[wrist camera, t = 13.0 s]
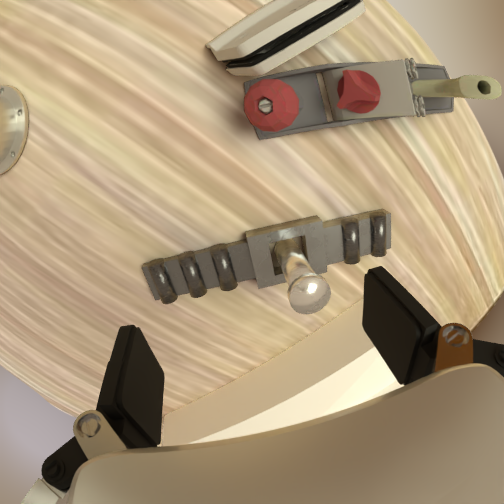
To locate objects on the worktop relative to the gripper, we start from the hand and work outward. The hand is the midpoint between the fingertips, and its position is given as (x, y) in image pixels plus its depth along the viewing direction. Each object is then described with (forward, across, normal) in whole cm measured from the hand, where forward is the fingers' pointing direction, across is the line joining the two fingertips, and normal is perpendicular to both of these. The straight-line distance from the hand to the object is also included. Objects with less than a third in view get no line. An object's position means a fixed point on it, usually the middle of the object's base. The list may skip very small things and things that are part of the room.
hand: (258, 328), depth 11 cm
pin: (+24, -6, +9) cm, 26 cm away
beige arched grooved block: (+24, -10, -18) cm, 32 cm away
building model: (+24, -4, +39) cm, 46 cm away
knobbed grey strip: (+24, -4, +9) cm, 26 cm away
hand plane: (+24, -19, -9) cm, 32 cm away
